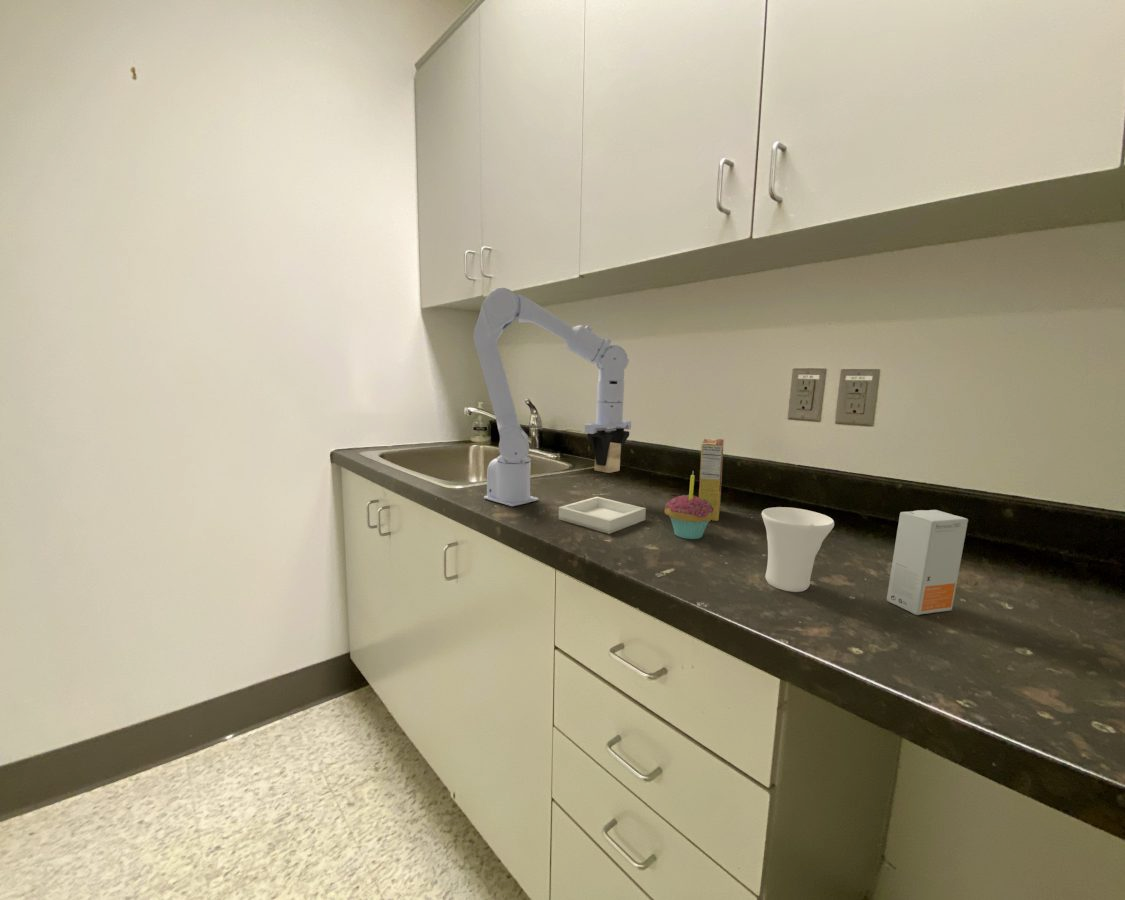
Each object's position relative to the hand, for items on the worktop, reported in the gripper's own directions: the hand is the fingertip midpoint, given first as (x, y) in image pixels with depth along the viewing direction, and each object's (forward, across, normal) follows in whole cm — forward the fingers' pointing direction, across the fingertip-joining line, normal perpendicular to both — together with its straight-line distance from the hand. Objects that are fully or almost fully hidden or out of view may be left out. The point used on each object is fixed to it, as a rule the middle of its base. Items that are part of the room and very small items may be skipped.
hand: (607, 463), depth 106 cm
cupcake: (+9, -8, -24) cm, 27 cm away
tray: (+8, -12, -8) cm, 17 cm away
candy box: (+9, +7, -21) cm, 24 cm away
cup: (+9, -17, -44) cm, 48 cm away
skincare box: (+9, -12, -58) cm, 60 cm away
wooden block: (+1, 0, 0) cm, 1 cm away
